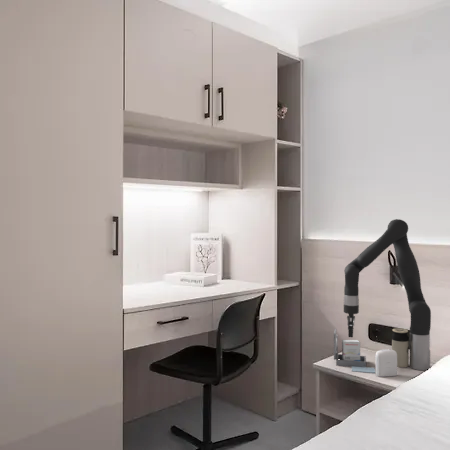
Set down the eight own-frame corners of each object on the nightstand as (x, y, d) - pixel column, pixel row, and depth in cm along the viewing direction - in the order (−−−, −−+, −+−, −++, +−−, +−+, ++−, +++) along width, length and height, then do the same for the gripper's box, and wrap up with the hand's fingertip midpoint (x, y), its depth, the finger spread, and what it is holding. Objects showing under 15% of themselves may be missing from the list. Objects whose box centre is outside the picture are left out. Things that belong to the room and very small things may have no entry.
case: (365, 360, 249) (365, 330, 248) (365, 367, 238) (365, 335, 237) (334, 358, 253) (334, 328, 252) (333, 365, 242) (333, 333, 242)
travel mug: (389, 365, 241) (389, 330, 240) (396, 361, 247) (396, 327, 246) (404, 369, 235) (404, 333, 235) (411, 365, 241) (411, 330, 240)
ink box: (358, 362, 247) (358, 339, 246) (360, 365, 242) (360, 342, 241) (341, 361, 248) (341, 339, 247) (343, 364, 243) (343, 341, 242)
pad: (374, 368, 236) (374, 367, 236) (375, 373, 230) (375, 372, 230) (351, 366, 239) (351, 366, 239) (351, 371, 233) (351, 370, 233)
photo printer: (377, 377, 224) (377, 351, 224) (374, 374, 228) (374, 348, 228) (398, 376, 225) (398, 350, 225) (394, 373, 229) (394, 347, 229)
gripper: (358, 306, 236) (358, 339, 236) (358, 301, 250) (358, 332, 250) (343, 305, 238) (342, 338, 239) (344, 300, 252) (343, 331, 252)
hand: (350, 335), depth 244 cm, fingers open, 8 cm apart
